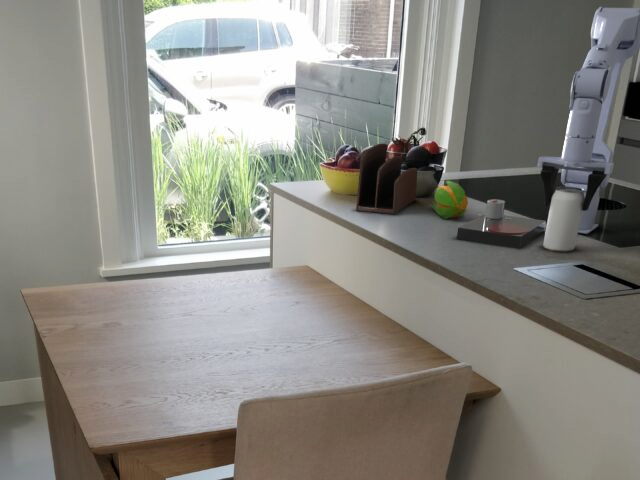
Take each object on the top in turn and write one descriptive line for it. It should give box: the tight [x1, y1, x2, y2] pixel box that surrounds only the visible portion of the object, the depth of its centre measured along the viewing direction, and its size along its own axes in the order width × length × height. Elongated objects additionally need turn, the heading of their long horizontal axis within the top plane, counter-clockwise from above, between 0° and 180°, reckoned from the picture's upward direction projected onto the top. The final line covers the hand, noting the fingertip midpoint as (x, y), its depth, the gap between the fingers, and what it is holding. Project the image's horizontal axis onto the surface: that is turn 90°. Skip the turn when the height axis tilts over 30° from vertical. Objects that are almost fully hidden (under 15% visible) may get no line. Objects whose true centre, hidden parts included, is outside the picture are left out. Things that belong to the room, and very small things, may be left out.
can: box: [542, 186, 585, 253], centre depth 173 cm, size 6×6×12 cm
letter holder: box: [355, 143, 418, 215], centre depth 208 cm, size 10×20×14 cm, turn 155°
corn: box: [430, 180, 469, 220], centre depth 203 cm, size 7×8×20 cm
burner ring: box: [487, 223, 529, 234], centre depth 181 cm, size 9×9×1 cm
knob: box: [484, 198, 506, 219], centre depth 189 cm, size 4×4×4 cm
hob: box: [456, 213, 547, 249], centre depth 186 cm, size 19×15×3 cm
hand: (566, 207), depth 172 cm, fingers open, 7 cm apart
